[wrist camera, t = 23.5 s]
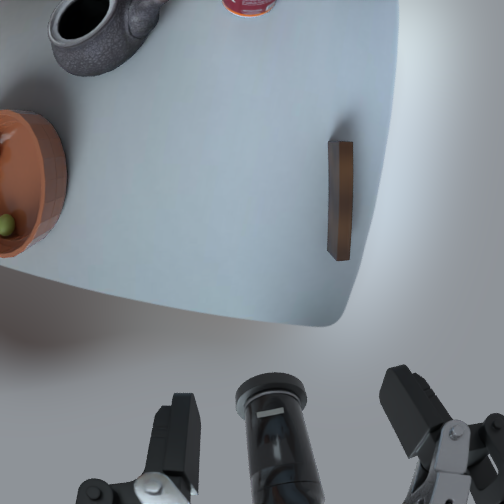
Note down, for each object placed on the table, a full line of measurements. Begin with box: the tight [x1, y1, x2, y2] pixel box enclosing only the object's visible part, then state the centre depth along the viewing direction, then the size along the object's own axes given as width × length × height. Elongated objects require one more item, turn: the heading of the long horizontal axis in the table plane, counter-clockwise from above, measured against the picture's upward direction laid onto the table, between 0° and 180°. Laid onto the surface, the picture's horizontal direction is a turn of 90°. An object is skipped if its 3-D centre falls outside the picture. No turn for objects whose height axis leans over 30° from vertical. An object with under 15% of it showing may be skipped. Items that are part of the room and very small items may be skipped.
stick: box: [327, 141, 353, 261], centre depth 31 cm, size 13×2×4 cm, turn 3°
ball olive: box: [0, 214, 15, 236], centre depth 28 cm, size 3×3×3 cm
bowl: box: [0, 109, 67, 258], centre depth 25 cm, size 18×18×6 cm
